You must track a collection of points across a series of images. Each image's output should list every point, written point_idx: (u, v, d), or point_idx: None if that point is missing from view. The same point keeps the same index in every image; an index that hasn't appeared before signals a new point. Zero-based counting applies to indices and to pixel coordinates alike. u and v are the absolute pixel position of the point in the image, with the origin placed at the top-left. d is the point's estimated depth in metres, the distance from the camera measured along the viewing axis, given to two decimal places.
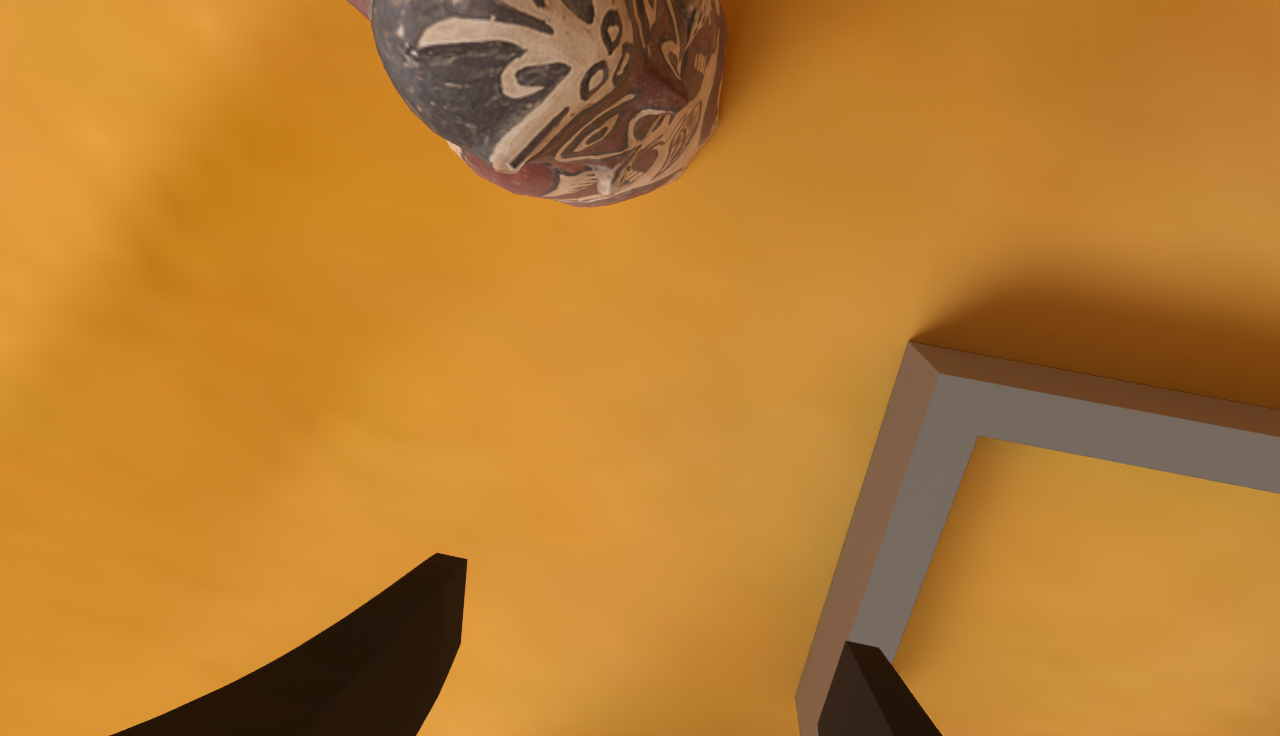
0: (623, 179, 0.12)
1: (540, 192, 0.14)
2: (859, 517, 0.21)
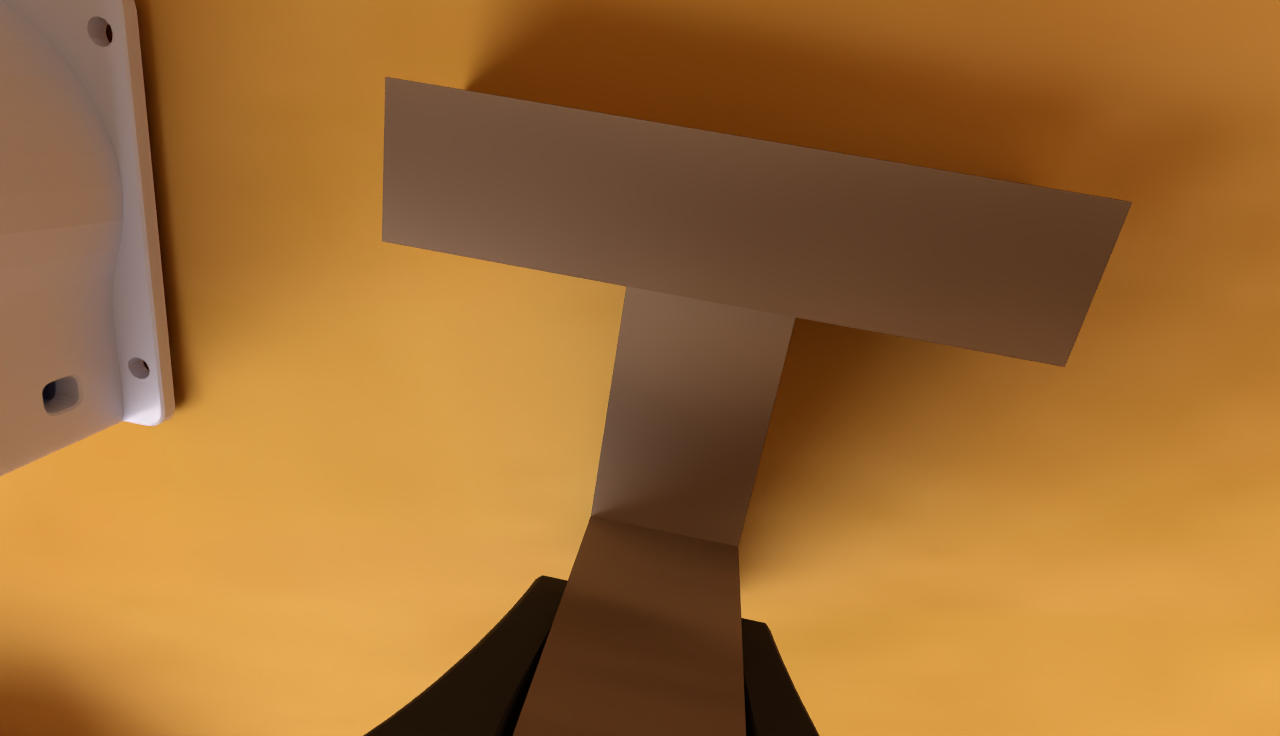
0: None
1: None
2: None
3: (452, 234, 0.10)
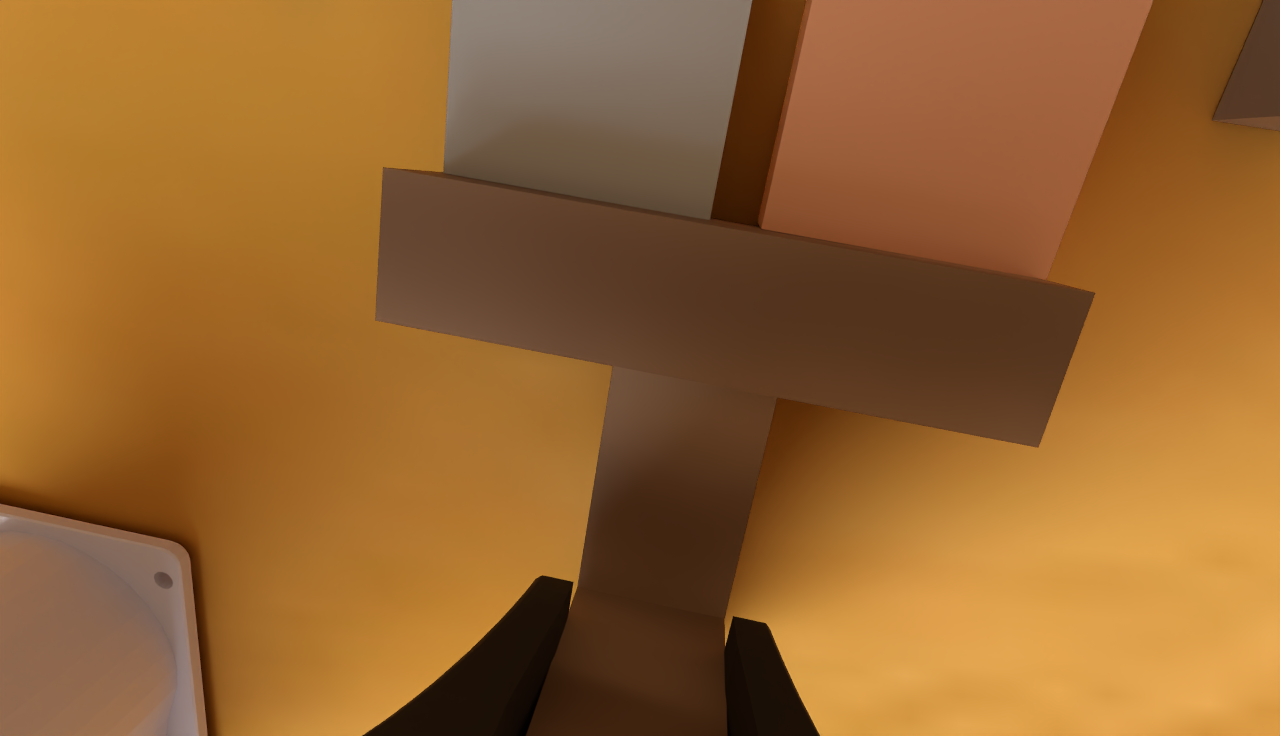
0: None
1: None
2: None
3: (444, 314, 0.11)
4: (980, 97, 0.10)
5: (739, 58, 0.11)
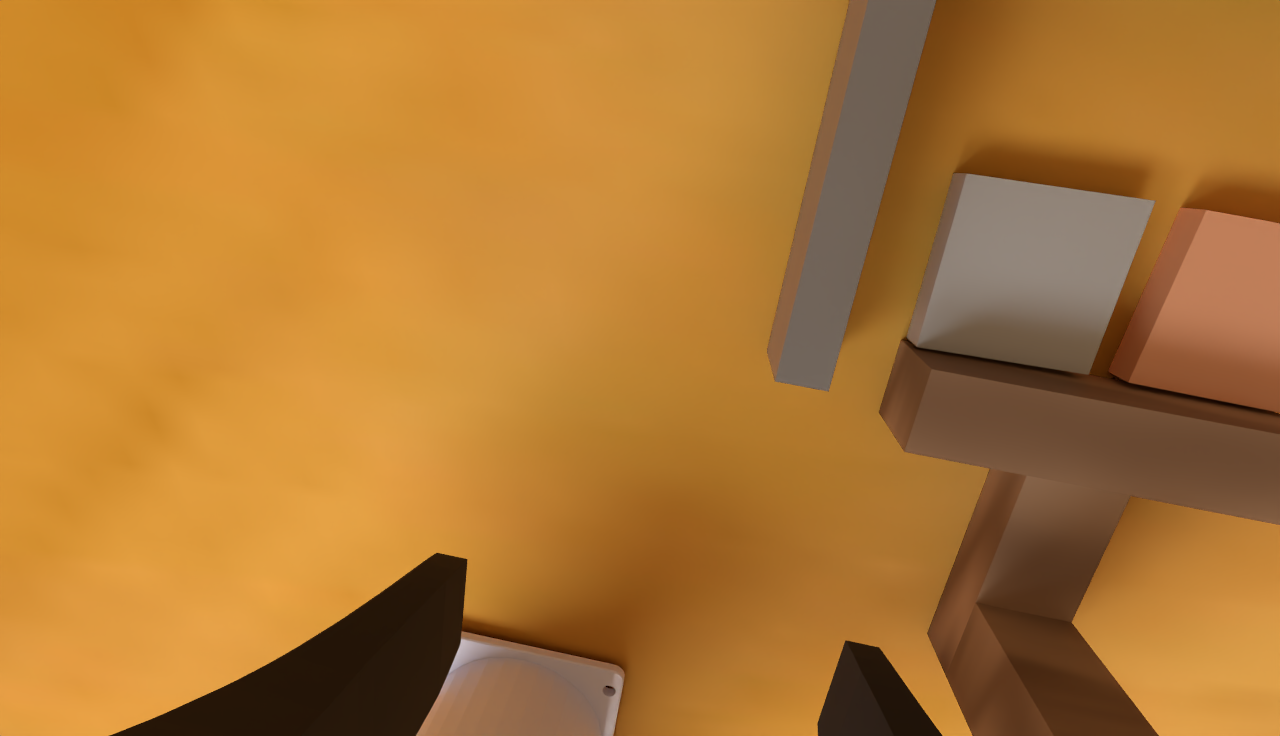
0: None
1: None
2: (838, 61, 0.17)
3: (950, 449, 0.18)
4: (1278, 316, 0.18)
5: (1122, 285, 0.18)
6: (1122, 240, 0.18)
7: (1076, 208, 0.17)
